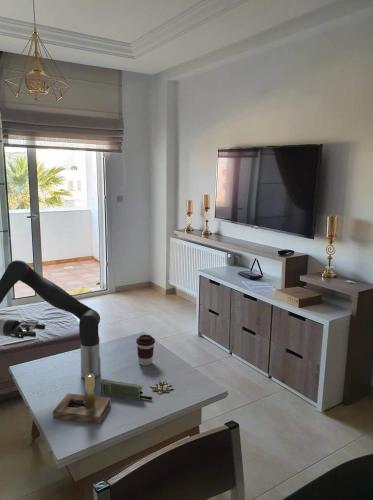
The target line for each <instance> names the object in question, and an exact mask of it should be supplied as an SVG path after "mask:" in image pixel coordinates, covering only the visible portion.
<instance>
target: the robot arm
mask: <svg viewBox="0 0 373 500" xmlns="http://www.w3.org/2000/svg"><path fill="white" fill-rule="evenodd" d="M19 281H20V282H22V283H23V284H25V285H27V286H28V287H29V288H31V289H32V290H33V291H34V292H35V293H36V294H37V295H38V296H39V297H40V298H41V299H42V300H44V301H45V302H46V303H48V304H49V305H51V306H52V307H54V308H56V309H58V310H61V311H64V312H68V313H70V314H71V315H74V316H75V317H76V318H77V319H79V321H78V322H79V323H78V332H79V335H78V336H79V341H80V376H81V378H83V379H85V375H86V374H94V375H95V379H96V378H98V377H101V370H102V369H101V366H102V365H101V362H102V361H101V356H100V352H101V351H100V341H101V340H100V335H99V325H100V323H101V316H100V314H99V312H98V311H96V310H95V309H93V308H91V307H89V306H88V305H86V304H84V303H82V302H80V301H79V299H77V298H75V297H74V296H73V295H72V294H70V293H68V292H67V291H66V290H65V289H63V288H62V287H61V286H59V285H57V284H56V283H54V282H53V281H51V280H50V279H48V278H46V277H45V276H42V275H40V274H39V273H38V272H37V271H35V269H33V268H32V267H31V266H30V265H29V264H28V263H27V262H25V260H19V259H18V260H17V259H16V260H13V261H11V262H9V263H8V266H7V267H6V269H5V271H4V273H3V274H2V276H1V277H0V305H1V304H2V303H3V301H4V299H5V297H6V296H7V295H8V293H9V292H10V291H11V289H12V288H13V287H14V286H15V284H17V283H18V282H19ZM33 330H40V331H41V330H43V331H44V330H46V325H45V324H40V323H39V321H34V320H33V321H30V320H27V321H25V323H21V322H20V321H19V320H17V319H8V318H7V319H6V318H2V319H0V336H1V337H10V338H12V339H13V338H14V339H21V340H22V339H24V338H29V337H31V338H35V337H36V335H37V332H36V331H33Z"/></svg>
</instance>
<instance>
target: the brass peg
mask: <svg viewBox="0 0 373 500" xmlns="http://www.w3.org/2000/svg"><path fill="white" fill-rule="evenodd" d="M95 379H96V378H95V375H94V374H86V375H85V378H84V395H85V407H91V408H92V407H93V405H95V396H96V388H95V387H96V385H95V384H96V383H95Z"/></svg>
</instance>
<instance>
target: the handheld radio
mask: <svg viewBox="0 0 373 500" xmlns="http://www.w3.org/2000/svg"><path fill="white" fill-rule="evenodd" d="M142 390H143V385H142V384H136V383H132V382H131V383H130V382H124V381H123V382H122V381H117V380H111V379H105V378H101V379H100V394H101V395H103V394H104V395H109V396H115V397H120V398H127V399H133V400H141V399H144V400H150V401H152V400H153V396H147V395H143V394H144V392H143V391H142Z"/></svg>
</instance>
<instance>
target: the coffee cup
mask: <svg viewBox="0 0 373 500" xmlns="http://www.w3.org/2000/svg"><path fill="white" fill-rule="evenodd" d="M135 341H136V343H135V344H137V346H136V347H137V348H136V349H137V357H138V358H137V359H138V364H139V365H140V364H141V366H150V365H151V364H152V363H153V356H154V350H155V346H154V345H155V342H156V338H155V337H153V336H152V335H150V334H141V335H140V336H139V337H138V338H136V340H135ZM149 364H150V365H149Z"/></svg>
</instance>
